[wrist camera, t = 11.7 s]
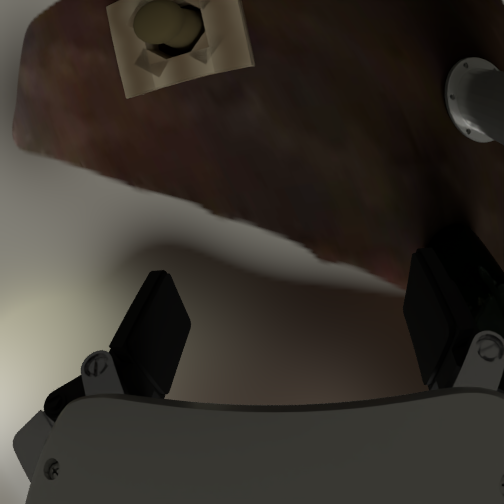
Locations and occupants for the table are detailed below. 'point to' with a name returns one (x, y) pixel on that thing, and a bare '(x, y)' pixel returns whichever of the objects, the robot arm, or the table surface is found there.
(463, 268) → the wine bottle
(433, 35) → the table surface
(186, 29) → the cork
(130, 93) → the jig
